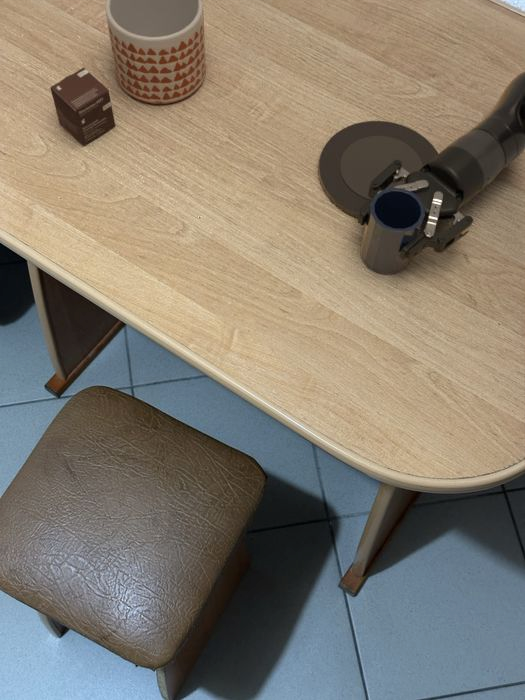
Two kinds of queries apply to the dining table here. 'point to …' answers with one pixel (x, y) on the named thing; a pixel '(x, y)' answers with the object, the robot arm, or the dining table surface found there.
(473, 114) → the dining table surface
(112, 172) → the dining table surface
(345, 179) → the plate
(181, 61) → the planter
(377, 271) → the cup
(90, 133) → the box
